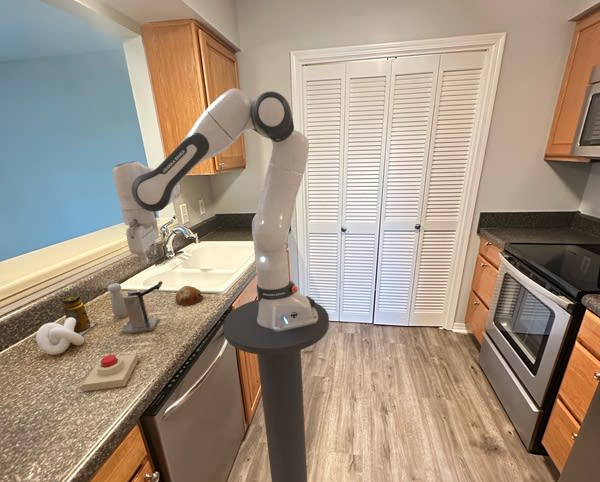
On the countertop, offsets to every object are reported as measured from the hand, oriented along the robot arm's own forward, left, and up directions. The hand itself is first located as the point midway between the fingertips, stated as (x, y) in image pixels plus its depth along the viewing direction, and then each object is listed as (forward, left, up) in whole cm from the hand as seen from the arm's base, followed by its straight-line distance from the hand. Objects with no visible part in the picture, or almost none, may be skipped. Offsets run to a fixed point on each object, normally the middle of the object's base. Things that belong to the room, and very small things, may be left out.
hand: (149, 259), depth 107 cm
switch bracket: (+8, 0, -25) cm, 26 cm away
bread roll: (-6, -19, -25) cm, 32 cm away
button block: (+8, +27, -25) cm, 38 cm away
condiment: (+30, -3, -25) cm, 39 cm away
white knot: (+28, +9, -25) cm, 39 cm away
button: (+8, +27, -21) cm, 35 cm away
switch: (+3, 0, -13) cm, 13 cm away
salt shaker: (+18, -11, -25) cm, 32 cm away
